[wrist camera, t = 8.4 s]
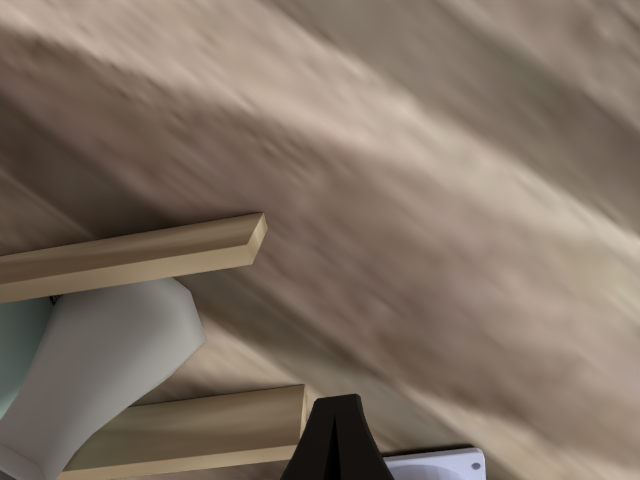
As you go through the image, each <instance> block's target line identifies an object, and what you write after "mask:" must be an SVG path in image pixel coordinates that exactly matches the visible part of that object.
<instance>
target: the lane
mask: <svg viewBox="0 0 640 480" xmlns="http://www.w3.org/2000/svg"><path fill="white" fill-rule="evenodd" d="M266 231H267V224H266V220H265V216H264V212H263V213H257V214H251V215H245V216H239V217H233V218H227V219H221V220H215V221H209V222H203V223H197V224H191V225H185V226H179V227H173V228H167V229H161V230H155V231H149V232H143V233H137V234H131V235H125V236H119V237H113V238H107V239H101V240H95V241H89V242H84V243H78V244H72V245H66V246H60V247H54V248H48V249H42V250H36V251H30V252H24V253H18V254H12V255H6V256H0V304H1V303H8V302H14V301H20V300H27V299H33V298H40V297H46V296H52V295H59V294H65V293H72V292H78V291H84V290H91V289H97V288H104V287H110V286H116V285H123V284H129V283H136V282H142V281H148V280H155V279H161V278H167V277H174V276H180V275H187V274H193V273H199V272H206V271H212V270H219V269H225V268H231V267H238V266H244V265H251V264H252V263H253V261H254V259H255V256H256V254H257V252H258V249H259V247H260V245H261V243H262V240H263V238H264V236H265V233H266ZM307 398H308V396H307V392H306V387H305V385H298V386H290V387H282V388H275V389H267V390H259V391H251V392H243V393H236V394H228V395H220V396H212V397H204V398H197V399H189V400H181V401H173V402H165V403H158V404H150V405H142V406H134V407H127V408H126V409H124V410H123V411H122V412H121V413H119V414H118V415H117V416H115V417H114V418H113V419H112V420H110V421H109V422H108V423H106V424H105V425H104V426H102V427H101V428H100V429H99V430H97V431H96V432H95V433H93V434H92V435H91V436H90V437H89V438H88V439H87V440H86V441H85V443H84V444H83V445H82V446H81V447H80V448H79V449H78V450H77V451H76V452H75V453H74V455H73V456H72V457H71V459H70V460H69V462H68V463H67V465H66V466H65V467H64V469H63V470H62V472H61V473H60V474H59V476H58V477H57V479H56V480H109V479H118V478H127V477H136V476H145V475H154V474H163V473H172V472H181V471H190V470H199V469H208V468H216V467H225V466H234V465H243V464H252V463H261V462H270V461H279V460H288V459H291V458H292V456H293V454H294V451H295V449H296V447H297V445H298V443H299V440H300V438H301V436H302V434H303V431H304V429H305V423H306V410H307Z"/></svg>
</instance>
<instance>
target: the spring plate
mask: <svg viewBox="0 0 640 480" xmlns="http://www.w3.org/2000/svg"><path fill="white" fill-rule="evenodd" d="M52 309H53V305H52V303H51V300H50V298H49V296H46V297H40V298H33V299H27V300H20V301H14V302H8V303H1V304H0V420H1V418H2V417H3V415H4V414H5V412H6V411H7V409H8V408H9V406H10V405H11V403H12V402H13V400H14V399H15V397H16V396H17V394H18V392H19V390H20V388H21V386H22V383H23V381H24V379H25V376H26V374H27V372H28V369H29V367H30V365H31V362H32V360H33V358H34V355H35V353H36V351H37V349H38V346H39V343H40V341H41V338H42V335H43V332H44V330H45V327H46V324H47V321H48V319H49V316H50V313H51V311H52Z"/></svg>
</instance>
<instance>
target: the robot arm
mask: <svg viewBox="0 0 640 480" xmlns="http://www.w3.org/2000/svg"><path fill="white" fill-rule="evenodd" d="M473 463H475V464H473ZM280 480H486V475H485V459H484V455H483V453H482V451H481V450H480V449H478V448H466V449H457V450H448V451H438V452H429V453H420V454H411V455H402V456H393V457H384V458H382V456H381V454H380V452H379V450H378V448H377V445H376V443H375V441H374V439H373V437H372V435H371V432H370V430H369V427H368V425H367V422H366V419H365V416H364V413H363V408H362V402H361V397H360V396H359V395H358V394H349V395H341V396H333V397H326V398H318V399H316V401H315V402H314V405H313V408H312V411H311V414H310V416H309V419H308V422H307V424H306V427H305V429H304V431H303V434H302V436H301V438H300V440H299V443H298V445H297V447H296V449H295V451H294V454H293V456H292V458H291V460H290V462H289V463H288V465H287V467H286V469H285V471H284V473H283V475H282V477H281V479H280Z"/></svg>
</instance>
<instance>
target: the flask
mask: <svg viewBox="0 0 640 480" xmlns="http://www.w3.org/2000/svg"><path fill="white" fill-rule="evenodd" d="M205 341H206V337H205V334H204V331H203V328H202V325H201V322H200V319H199V316H198V313H197V310H196V307H195V304H194V301H193V298H192V295H191V292H190V291H189V290H188V289H187V288H185V287H184V286H183V285H181V284H180V283H179V282H177V281H176V280H175V279H173V278H172V277H167V278H161V279H155V280H148V281H142V282H136V283H129V284H123V285H116V286H110V287H104V288H97V289H91V290H84V291H78V292H72V293H65V294H61V295H60V297H59V298H58V299H57V301H56V302H55V304H54V306H53V309H52V311H51V313H50V316H49V319H48V321H47V324H46V327H45V330H44V332H43V335H42V338H41V341H40V343H39V346H38V349H37V351H36V353H35V355H34V358H33V360H32V362H31V365H30V367H29V369H28V372H27V374H26V376H25V379H24V381H23V383H22V386H21V388H20V390H19V392H18V394H17V396H16V397H15V399H14V400H13V402H12V403H11V405H10V406H9V408H8V409H7V411H6V412H5V414H4V415H3V417H2V418H1V420H0V480H56V479H57V477H58V476H59V474H60V473H61V472H62V470H63V469H64V467H65V466H66V465H67V463H68V462H69V460H70V459H71V457H72V456H73V455H74V453H75V452H76V451H77V450H78V449H79V448H80V447H81V446H82V445H83V444H84V443H85V441H86V440H87V439H88V438H89V437H90V436H91V435H92V434H93V433H95V432H96V431H97V430H99V429H100V428H101V427H102V426H104V425H105V424H106V423H108V422H109V421H110V420H112V419H113V418H114V417H115V416H117V415H118V414H119V413H121V412H122V411H123V410H124V409H126V408H127V407H128V406H130V405H131V404H132V403H134V402H135V401H136V400H138V399H139V398H141V397H142V396H144V395H145V394H146V393H148V392H149V391H151V390H152V389H154V388H155V387H156V386H158V385H159V384H161V383H162V382H164V381H165V380H166V379H168V378H169V377H170V376H171V375H173V374H174V373H175V372H176V371H177V370H178V369H179V368H180V367H181V366H182V365H183V364H184V363H185V362H186V361H187V360H188V359H189V358H190V357H191V356H192V355H193V354H194V353H195V351H196V350H197V349H198V348H199V347H200V346H201V345H202V344H203V343H204V342H205Z"/></svg>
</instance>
